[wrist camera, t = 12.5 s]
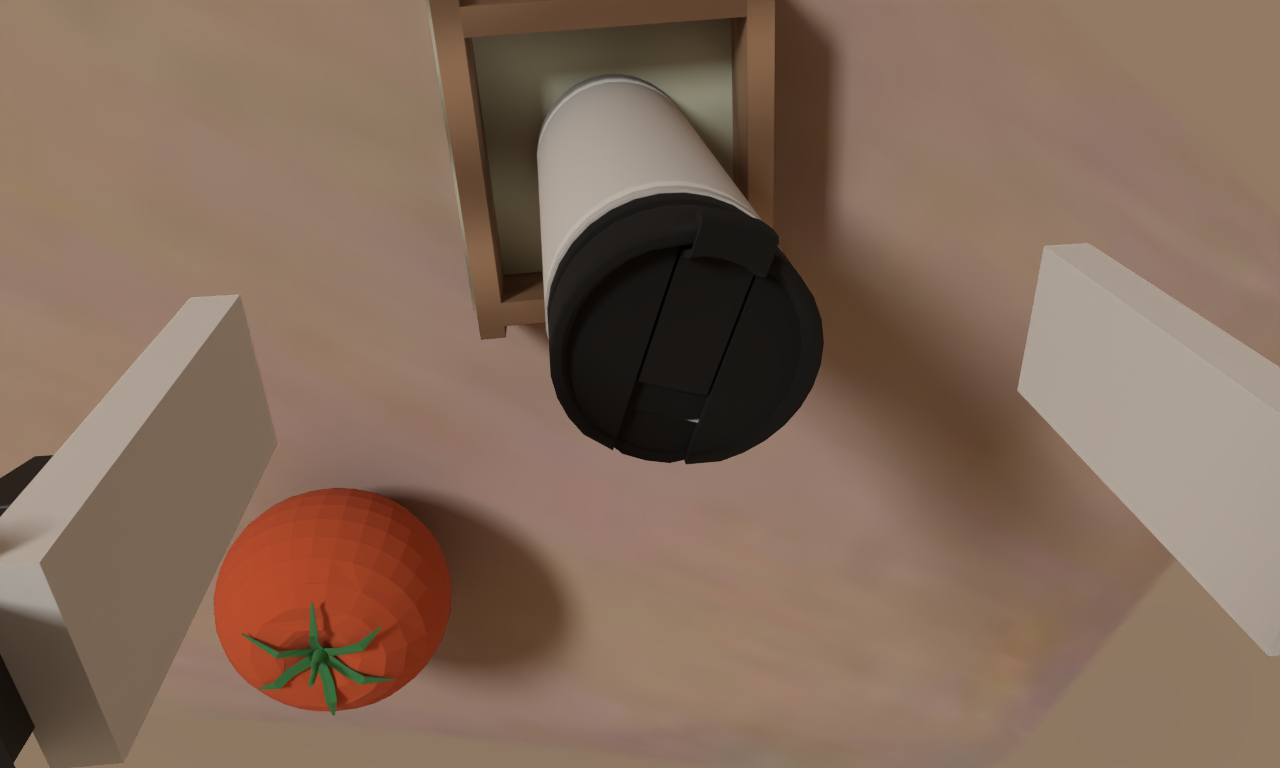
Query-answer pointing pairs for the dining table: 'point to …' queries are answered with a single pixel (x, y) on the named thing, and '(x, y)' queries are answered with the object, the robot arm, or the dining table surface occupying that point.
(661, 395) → the travel mug
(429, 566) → the tomato
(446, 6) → the walnut caddy
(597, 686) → the dining table surface
